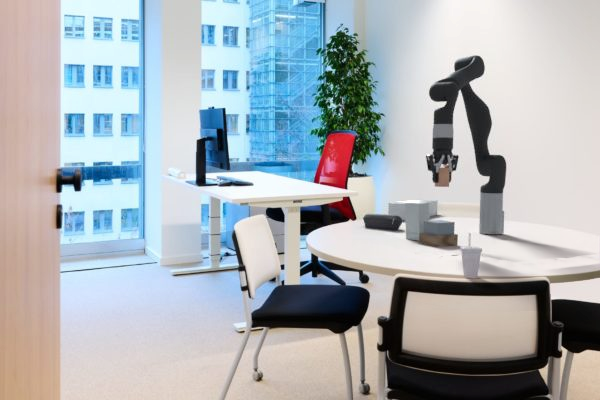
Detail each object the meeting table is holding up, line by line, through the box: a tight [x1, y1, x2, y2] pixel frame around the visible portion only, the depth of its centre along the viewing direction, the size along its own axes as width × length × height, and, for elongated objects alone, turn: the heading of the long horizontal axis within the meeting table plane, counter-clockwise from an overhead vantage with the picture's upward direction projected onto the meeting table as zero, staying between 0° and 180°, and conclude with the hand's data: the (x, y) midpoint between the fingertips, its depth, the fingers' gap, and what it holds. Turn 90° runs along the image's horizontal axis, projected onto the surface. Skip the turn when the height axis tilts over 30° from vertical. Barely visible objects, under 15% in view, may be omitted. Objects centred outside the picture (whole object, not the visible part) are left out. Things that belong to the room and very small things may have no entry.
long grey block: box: [387, 199, 439, 222], centre depth 316 cm, size 32×11×11 cm, turn 143°
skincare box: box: [405, 202, 431, 242], centre depth 252 cm, size 8×6×15 cm
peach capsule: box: [434, 166, 450, 188], centre depth 238 cm, size 5×5×7 cm
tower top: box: [423, 219, 456, 235], centre depth 239 cm, size 8×8×4 cm
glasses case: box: [362, 213, 403, 231], centre depth 279 cm, size 18×10×8 cm, turn 59°
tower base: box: [418, 233, 458, 248], centre depth 240 cm, size 10×10×4 cm
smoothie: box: [459, 232, 483, 279], centre depth 192 cm, size 6×6×14 cm
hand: (441, 182), depth 238 cm, fingers closed on peach capsule, 5 cm apart
